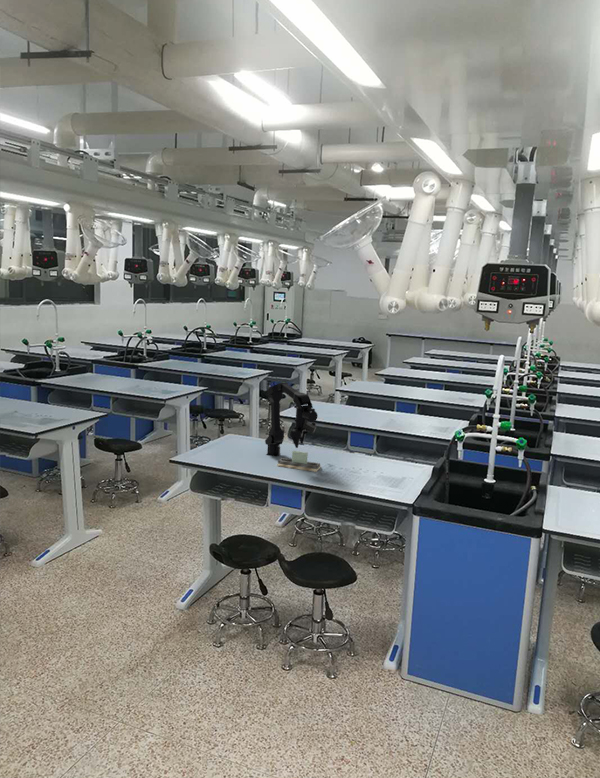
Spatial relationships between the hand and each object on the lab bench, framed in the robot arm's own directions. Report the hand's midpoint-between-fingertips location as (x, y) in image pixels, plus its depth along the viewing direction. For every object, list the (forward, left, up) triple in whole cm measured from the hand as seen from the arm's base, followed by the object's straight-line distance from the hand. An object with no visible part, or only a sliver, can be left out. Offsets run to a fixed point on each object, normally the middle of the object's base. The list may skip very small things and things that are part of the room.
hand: (299, 445), depth 312 cm
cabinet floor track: (+1, -1, -11) cm, 11 cm away
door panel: (+1, -1, -10) cm, 10 cm away
